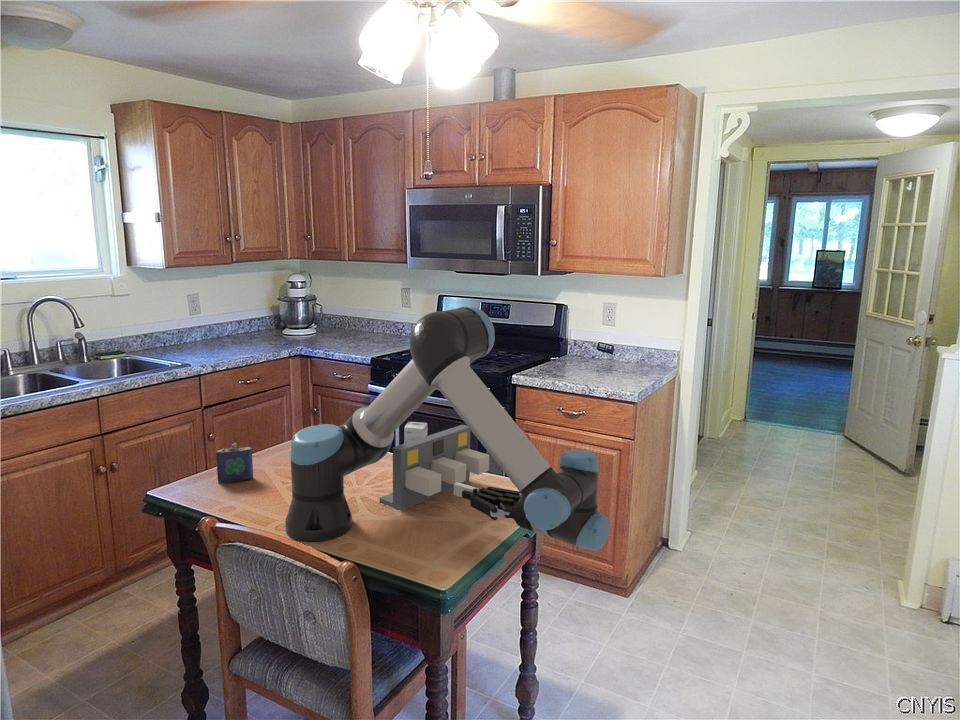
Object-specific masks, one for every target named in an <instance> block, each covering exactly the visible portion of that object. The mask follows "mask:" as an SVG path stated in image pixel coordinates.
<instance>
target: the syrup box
mask: <svg viewBox="0 0 960 720" xmlns="http://www.w3.org/2000/svg"><path fill="white" fill-rule="evenodd" d="M403 429H404V432H403V435H404V436H403V438H404V442H403V444H405V443H408V442H411V441H414V440H417V439H420V438H423V437H426V436H428V423H427V422H419V421H418V422H417V421H408V422H407V423H406V424H405V425H404V428H403Z"/></svg>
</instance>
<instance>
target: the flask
mask: <svg viewBox="0 0 960 720" xmlns="http://www.w3.org/2000/svg"><path fill="white" fill-rule="evenodd" d="M237 445H238V443H235V442H233V443H232V444H231V446H230V447H229V448H228V447H227V448H224V447H223V448H222V449H218V450H216V454H215V457H216V469H217V470H216V471H217V472H216V473H217V481H218V484H234V483H237V482H238V483H239V482H247V481H250V480H253V478H254V465H253V448H252V447H250V446H246V447H237Z"/></svg>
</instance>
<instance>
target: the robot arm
mask: <svg viewBox="0 0 960 720" xmlns="http://www.w3.org/2000/svg"><path fill="white" fill-rule="evenodd" d="M495 338H496V337H495V327H494V324H493V322H492V320H491V319H490V317H489V315H488V314H486V312H484V311H483V310H482V309H480V308H478V307H472V306H459V307H458V308H453V309H448V310H442V311H434V312H429V313H428V314H426V315H423V316H422V317H421V318H420V319H418V321H416V323H415V324H414V326H413V328H412V330H411V332H410V337H409V352H410V356H411V358H412V359H410V361H409V362H408V363H407V364H406V365H405V366H404V367H403V368H402V369H401V371H400V372H398V374H397V375H396V376H395V377H394V378H393V379H392V380H391V381H390V383H388V385H386V387H384V389H383V390H382V391H381V392H380V394H378V395H377V397H376V398H375V399H374V400H373V401H372V402H371V403H370V405H369V406H367V407H363V406H362V407H360V408H357V409H356V410H355V411H354V412H353V414H352V415H351V416H350V417H349V418H348V419H347V420H346V421H345V422H344V423H343V424H341V425H335V424H331V423H330V424H329V423H319V424H318V425H311V426H307V427H305V428H302V429H300V430H298V431H296V433H295V434H294V435H293V437H292V438H291V441H290V451H289V458H290V474H291V491H292V492H291V493H292V495H291V496H292V497H291V501H290V504H289V507H288V511H287V515H286V517H285V521H284V522H285V525H284V526H285V533H286V534H287V535H288V536H289V537H290V538H292V539H295V540H299V541H303V542H322V541H328V540H332V539H335V538H339V537H340V536H343V535H344V534H346V533H348V532H349V531H350V529H351V528H352V526H353V515H352V511H351V510H350V507H349V503H348V501H347V498H346V496H345V491H344V490H345V487H344V486H345V485H344V484H345V483H344V482H345V481H344V477H345V476H347V475H350V474H351V473H353V472H355V471H358V470H360V469H363V468H364V467H368V466H371V465H373V464H375V463H378V462H379V461H380V460H381V459H383V458H384V457H385V456H386V455H387V454H388V453H389V451H390V449H391V447H392V442H393V441H394V438H395V433H394V432H395V431H396V430H397V429H398V428H399V427H400V426H401V425H402V424H403V423H404V422H405V421H406V420H407V419H408V418H409V417H410V416H411V414H413V413H414V412H415V411H416V410H417V409H418V408H419V407H420V406H421V405H422V404H423V403H424V401H426V400H427V399H428V398H429V396H431V395H432V394H433V393H434V391H436V390H437V391H439V392H440V393H441V394H442V395H443V397H444V398H445V400H447V402H448V403H449V405H450V406H451V407H452V408H453V409H454V411H455V412H456V413H457V414H458V416H459V417H460V418H461V419H462V421H463V422H464V424H465V425H466V426H468V427H469V428H470V429H471V432H472V433H473V435H474V436H475V437H476V439H477V440H478V441H479V442H480V443H481V445H482V446H483V447H484V449H486V451H487V452H488V454H489V456H491V457H492V459H493V460H494V461H495V463H496V464H497V465H498V466H499V468H500V469H501V470H502V471H503V472H504V474H505V475H506V476H507V478H508V479H509V480H510V481H511V483H512V484H513V485H514V486H515V487H516V489H517V490H512V489H508V488H500V487H496V486H487V487H486V488H484V487H481V488H479V487H475V486H471V485H468V484H466V483H465V484H462V483H459V482H457V483H455V484H454V488H453V495H454V496H456V497H458V498H459V497H460V498H462V499H466V500H468V501H469V507H471V508H473V509H475V510H477V511H478V512H481V513H482V514H484V515H486V516H488V517H489V518H490V519H491V521H498V517H504V518H506V519H513V520H514V521H515V523H516V525H517V526H518V527H519V528H522V529H525V530H528V531H531V532H535V533H538V534H540V535H544V536H547V537H548V538H553V539H555V540H559V541H560V542H564V543H567V544H570V545H573V546H575V547H577V548H581V549H586V550H589V551H598V550H600V549H601V548H603V547H604V546H605V544H606V542H607V540H608V538H609V536H610V535H609V534H610V522H609V517H608V516H606V515H605V514H603V513H602V512H599V511H598V491H599V490H598V487H599V486H598V485H599V473H600V471H599V460H598V456H597V454H595V453H593V452H592V451H589V450H586V449H585V450H584V449H569V450H566V451H564V452H563V453H562V454H561V455H560V463H559V471H558V472H556V471H555V470H554V469H553V468H552V466H551V465H550V464H549V463H548V461H547V460H546V459H545V458H544V456H543V455H542V454H541V452H539V450H538V449H537V448H536V447H535V445H534V444H533V443H532V441H531V440H530V439H529V437H527V435H526V434H525V432H524V431H522V429H521V428H520V426H519V425H518V424H517V423H516V422H515V420H514V419H513V418H512V417H511V416H510V414H509V413H508V411H507V410H505V408H504V407H503V406H502V405H501V403H500V402H499V400H498V399H497V398H496V397H495V396H494V394H493V393H492V391H490V389H489V388H488V387H487V386H486V385H485V383H484V382H483V381H482V380H481V378H480V377H479V376H478V375H477V373H476V372H475V371H474V370H473V368H471V364H472V363H473V362H474V361H476V360H479V359H482V358H483V357H486V355H488V354H489V353H490V352H491V351H492V349H493V346H494V344H495V340H496V339H495Z"/></svg>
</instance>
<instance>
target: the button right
mask: <svg viewBox="0 0 960 720" xmlns="http://www.w3.org/2000/svg"><path fill="white" fill-rule="evenodd" d="M455 461H458V462H461V463H464V464H466V471H468V472H470V473H472V474H475V475H477V476H480V475H481V474H484V473H485V472H488V471H490V454H489V453H488V454H487V453H484V452H480V451H477V450H474V449H471V448H470V449H468V448H462V449H459V450H457V451H455Z"/></svg>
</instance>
